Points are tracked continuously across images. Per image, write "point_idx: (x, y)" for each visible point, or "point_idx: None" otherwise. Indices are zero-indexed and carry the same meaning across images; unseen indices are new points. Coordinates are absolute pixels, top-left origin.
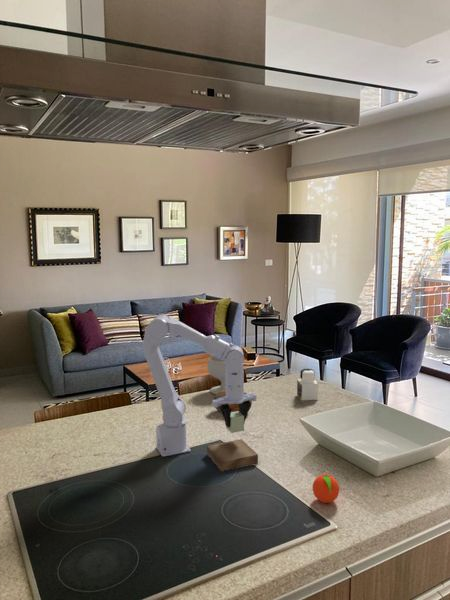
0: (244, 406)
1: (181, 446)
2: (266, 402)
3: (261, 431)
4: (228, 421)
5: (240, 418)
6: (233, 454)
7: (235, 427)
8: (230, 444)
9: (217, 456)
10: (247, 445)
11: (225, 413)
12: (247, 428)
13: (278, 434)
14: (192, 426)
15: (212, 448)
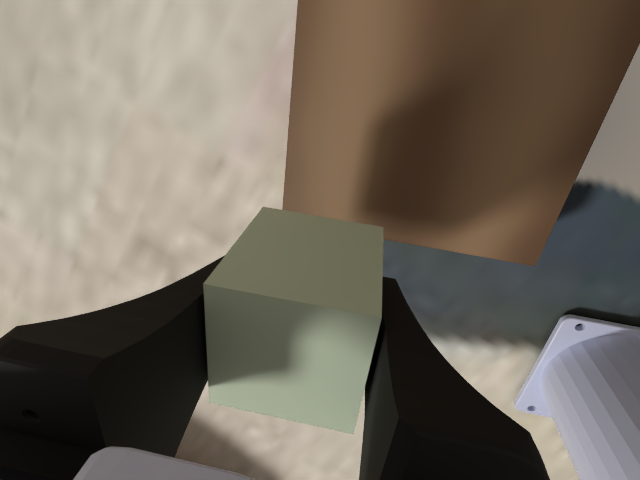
0: (115, 378)
1: (632, 355)
2: None
3: (120, 288)
4: (404, 310)
5: (259, 277)
6: (481, 29)
7: (339, 241)
8: (389, 196)
9: (616, 71)
10: (294, 114)
11: (485, 399)
12: None
13: (50, 218)
14: None
15: (536, 213)
